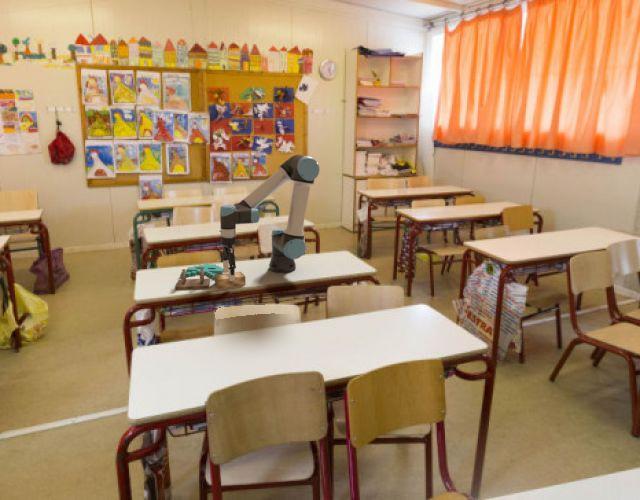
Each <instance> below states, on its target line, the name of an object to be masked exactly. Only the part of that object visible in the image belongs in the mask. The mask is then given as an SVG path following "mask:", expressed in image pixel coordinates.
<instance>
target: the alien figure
mask: <svg viewBox="0 0 640 500" xmlns="http://www.w3.org/2000/svg"><path fill="white" fill-rule="evenodd" d="M202 268H203V269H204V276H206V275H207V277H210V279H212V280H215V275H218V274H224V273H223V267H221V266H219V265H217V264H214V263H204V264H199V265H193V266H189V267H187V268H186V269H185V270H186V278H190V277H191V276H193V275H194V276H195V277H196V276H197V275H200V269H202ZM179 278H180V279H182V277H181V273H180V274H179Z"/></svg>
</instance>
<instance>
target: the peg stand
mask: <svg viewBox="0 0 640 500" xmlns="http://www.w3.org/2000/svg"><path fill="white" fill-rule="evenodd" d="M186 273H187V272H186V269H185V268H182V270H181V273H180V274H181V277H182V278H180V279H178V280H177V282H176V285H175V290H176V291H177V290H178V291H179V290H204V289H205V290H208V289H210V284H211V278H205V275H204V269H203V268H202V269H200V274H199V278H188V279H187V277H186Z"/></svg>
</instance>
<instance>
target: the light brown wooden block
mask: <svg viewBox="0 0 640 500" xmlns="http://www.w3.org/2000/svg"><path fill="white" fill-rule="evenodd" d="M214 284H215V286H216V287H217V288H218V289H225V288H233V287H241V286H245V285H246V284H247V281H246V275H245V274H244V273H243V272H242V271H235V281H229V272H228V273H222V274H215V279H214Z"/></svg>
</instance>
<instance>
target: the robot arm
mask: <svg viewBox="0 0 640 500" xmlns="http://www.w3.org/2000/svg"><path fill="white" fill-rule="evenodd" d="M319 174H320V165H319V163H318V161H317V160H316V159H315V158H313V157H311V156H309V155H303V154H295V155H292V156H291V157H289V158H287V160H285V161H284V162H283V163H281V164H280V165H279V166H278V167H277V170H276V171H275V172H274V173H273V174H271V175H270V176H269V177H268V178H267V179H266V180H264V181H262V183H261V184H260V185H259V186H257V188H255V189H254V190H253V191H251V192H250V193H249V194H248V195H246V197H244V198H243V199H242V200H241V201H240V202H236V203H234V204H229V205H228V204H223V205H222V206H220V208H219V209H220V211H219V219H220V220H219V221H220V230H219V233H220V244H221V245H222V254H221V258H222V260H223V261H222V265H223V267H222V268H223V273H222V274H226V273H229V281H235V272H236V269H237V265H236V258H235V249H234V247H233V245H236V244H237V225H247V224H256V223H259V221H260V212H259V209H258V208H257V207H258V206H259V205H260V204H261V203H263V202H264V201H265V200H267V198H269V197H270V196H271V195H272V194H273V193H275V192H276V191H277V190H279V188H280V187H282V186H283V185H284V184H286V183H287V182H291V181H292V183H293V186H292V187H293V188H292V194H291V199H290V207H289V213H288V218H287V223H286V227H285V228H284V227H283V228H276V229H275V228H274V229H273V230H272V231H271V258H270V260H269V263H268V269H269V271H271V272H275V273H289V272H293V271H295V270H296V269H297V264H296V261H295V260H297V259H300V258H301V257H302V256H304V254H305V252H306V250H307V245H306V243H305V233H304V231H303V230H304V226H305V225H304V223H305V219H306V213H307V206H308V201H309V196H310V195H309V194H310V191H311V187H312V186H314V184H315V179H316V178H317V177H319Z"/></svg>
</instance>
